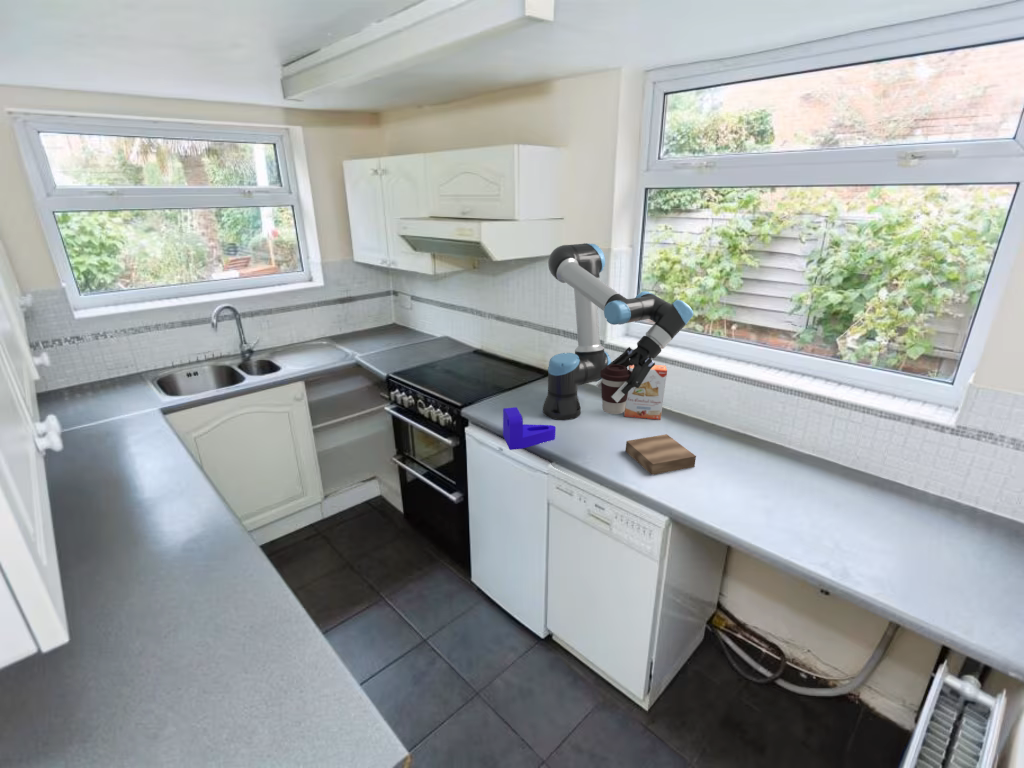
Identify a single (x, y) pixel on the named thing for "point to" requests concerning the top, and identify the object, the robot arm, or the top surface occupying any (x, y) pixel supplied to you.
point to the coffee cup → (613, 387)
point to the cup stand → (660, 454)
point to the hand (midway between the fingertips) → (606, 393)
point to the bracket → (524, 431)
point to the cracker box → (647, 395)
